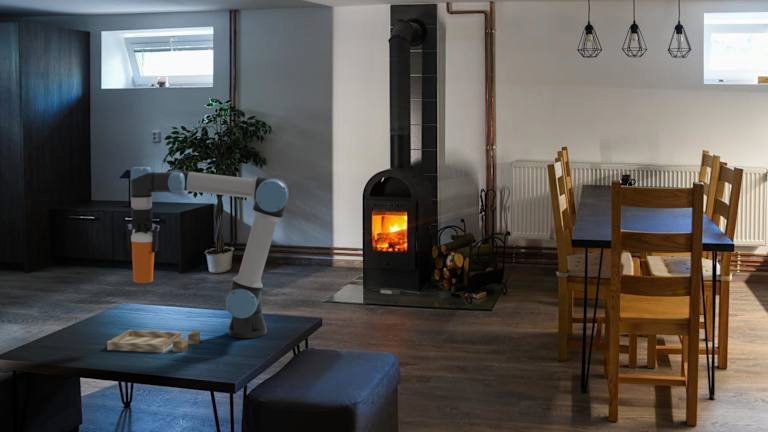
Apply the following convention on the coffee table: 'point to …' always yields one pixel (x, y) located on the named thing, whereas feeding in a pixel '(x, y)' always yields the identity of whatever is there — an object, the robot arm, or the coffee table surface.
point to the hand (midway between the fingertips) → (143, 269)
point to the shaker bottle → (142, 256)
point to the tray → (143, 341)
